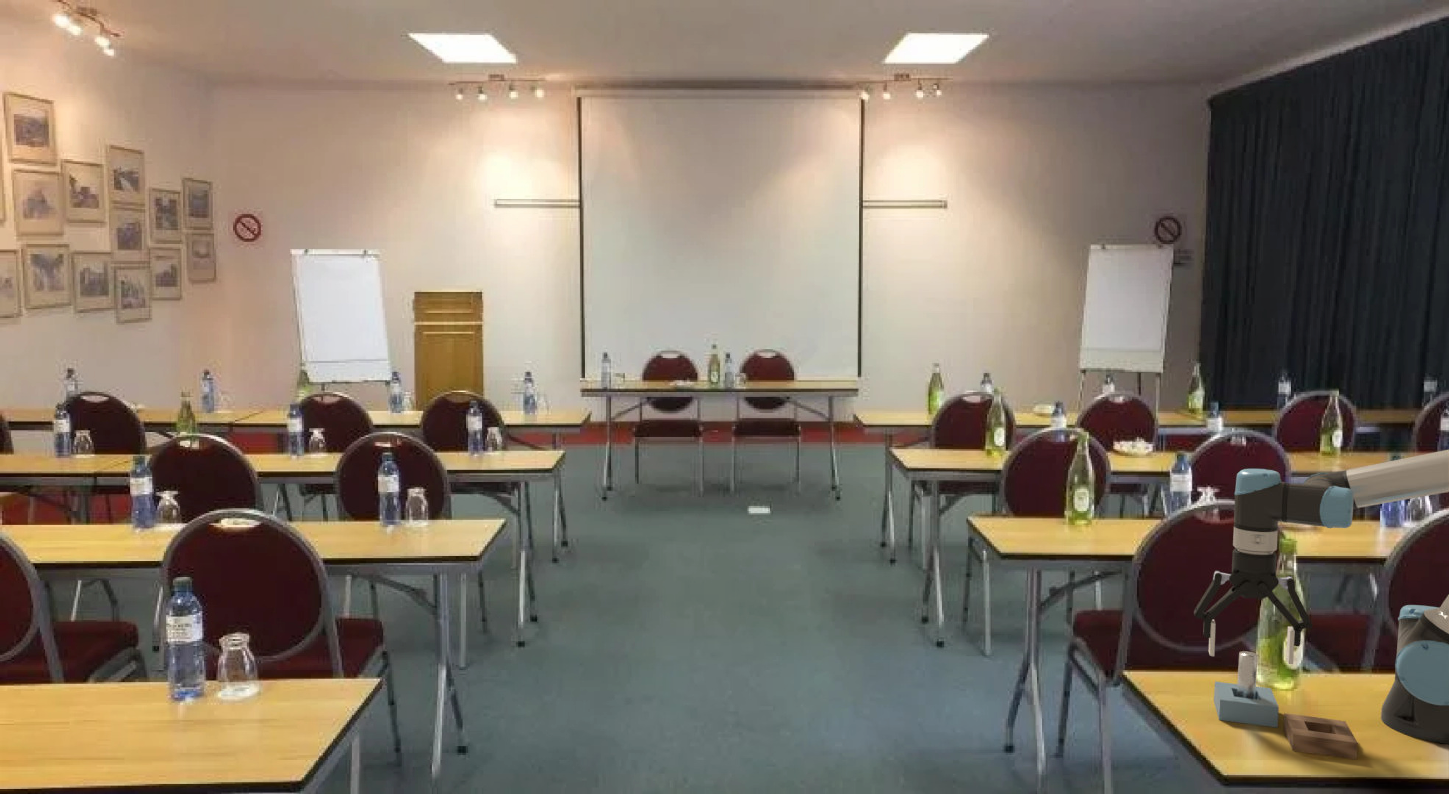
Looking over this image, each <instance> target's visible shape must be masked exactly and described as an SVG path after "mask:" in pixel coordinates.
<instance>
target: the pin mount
mask: <svg viewBox="0 0 1449 794" xmlns="http://www.w3.org/2000/svg"><path fill="white" fill-rule="evenodd" d="M1283 713H1284V714H1283V715H1284V716H1283V731H1284V734H1285V735H1286V736H1285V737H1286V739H1287V740H1288V743H1289V745H1290V747H1291V750H1292V751H1295V752H1302V753H1310V754H1314V755H1315V754H1317V755H1322V756H1323V755H1324V756H1331V757H1337V758H1345V759H1351V760H1357V758H1358V757H1357V756H1358V746H1359V745H1358V743H1359V742H1358V741H1357V739H1356V738H1355V736H1354V734H1353V733H1352V730H1351V729H1350V727H1349V725H1348V723H1347V722H1346V720H1340V719H1334V718H1333V719H1332V718H1325V717H1316V716H1311V715H1310V716H1309V715H1302V714H1293V713H1286V712H1283Z"/></svg>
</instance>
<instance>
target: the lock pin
mask: <svg viewBox="0 0 1449 794" xmlns="http://www.w3.org/2000/svg"><path fill="white" fill-rule="evenodd" d="M1238 653H1239V654H1238V667H1237V668H1238V669H1237V683H1236V684H1237V697H1242V698H1249V699H1255V693H1256V687H1257V676H1258V674H1257V673H1258V661H1259V660H1258V658H1259V655H1258V654H1257V653H1255V652H1252V651H1246V650H1245V651H1244V650H1242V651H1239V652H1238Z"/></svg>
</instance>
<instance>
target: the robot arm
mask: <svg viewBox="0 0 1449 794" xmlns="http://www.w3.org/2000/svg"><path fill="white" fill-rule="evenodd" d="M1444 493H1449V449H1445V450H1440V451H1436V452H1429V453H1424V454H1420V455H1415V456H1410V457H1406V458H1405V457H1404V458H1400V459H1394V460H1391V461H1384V462H1380V463H1375V464H1371V465H1365V466H1360V467H1356V468H1350V469H1346V470H1342V471H1341V470H1340V471H1339V470H1338V471H1337V472H1336V471H1334V472H1318V473H1316V474H1312V475H1310V476H1309V477H1307V478H1306V479H1304V481H1303V483H1290V482H1285V481H1282V479H1281V474H1280V473H1279V472H1278V471H1275V470H1273V469H1266V468H1244V469H1241V470H1240V471H1239V472H1238V473H1237V474H1236V479H1235V491H1234V509H1233V512H1234V516H1233V517H1234V518H1233V537H1232V539H1233V540H1232V546H1233V547H1234V549H1233V550H1232V558H1231V559H1232V562H1231V563H1232V564H1231V571H1230V573H1225V572H1221V571H1220V570H1214V572H1213V576H1212V581H1211V582H1210V584H1209V586H1208V588H1207V589H1206V591H1205V592H1204V594H1203V595H1202V597H1201V598H1200V601H1199V602H1198V603H1197V605H1196V606H1195V608H1194V610H1193V614H1194V617H1195V618H1197V619H1201V620H1202V621H1203V626H1202V627H1203V628H1202V629H1203V633H1202V634H1203V636H1204V638H1206V639H1207V638H1208V654H1209V656H1210V657H1215V647H1216V645H1215V643H1216V621H1215V618H1216V617H1217V616H1218V615H1220V614H1221V613H1222V612H1223V611H1224V610H1226V608H1228V606H1229V605H1230V604H1232V603H1233V602H1234V601H1235V600H1237V599H1238V598H1239V597H1240V596H1241V597H1242V598H1244V599H1252V598H1253V599H1256V600H1263V599H1266V598H1267V599H1268V600H1269V601H1270V602H1271V603H1272V604H1273V605H1274V607H1275V608H1276V609H1277V610H1278V611H1279V612H1280V614H1282V615H1283V617H1284V618H1285V619H1286V621H1288V623H1289V624H1290V625H1291V626H1287V635H1286V636H1287V637H1286V639H1287V641H1286V658H1285V659H1286V662H1287V663H1288V665H1294V656H1295V654H1294V653H1295V647H1300V646H1301V642H1302V641H1301V639H1302V638H1301V637H1302V636H1301V634H1302V631H1303V630H1305V629H1311V628H1313V623H1312V620H1311V619H1310V617H1309V615H1308V613H1307V611H1306V609H1305V607H1304V605H1303V603H1302V601H1301V600H1300V597H1299V595H1298V593H1297V591H1296V584H1295V580H1294V578H1293V577H1292V576H1290V575H1287V576H1285V577H1277V560H1278V559H1277V557H1278V555H1277V553H1276V552H1275V551H1277V550H1278V530H1279V523H1284V524H1285V523H1286V524H1288V523H1289V524H1297V525H1305V526H1306V525H1307V526H1312V527H1313V526H1314V527H1321V528H1322V527H1323V528H1327V529H1332V528H1334V529H1335V528H1337V529H1348V528H1349V527H1351V525H1352V523H1353V514H1354V510H1355V509H1359V508H1365V507H1371V506H1377V505H1381V504H1382V505H1383V504H1387V503H1393V502H1394V503H1395V502H1400V501H1403V500H1411V499H1415V498H1421V497H1427V496H1433V495H1440V494H1444ZM1227 581H1229V582H1230V584H1231V585H1232V587H1231V588H1230V589H1228V591H1227V592H1226V593H1225V594H1224V595H1223V596H1222V597H1221V598H1220V599H1219V600H1218V601H1217V602H1215V603H1214V604H1213V605H1212V606H1211V607H1210V608H1209V609H1208V607H1209V605H1210V604H1211V602H1212V601H1213V599H1214V597H1215V596H1216V594H1217V593H1218V591H1219V589H1220V588H1221V585H1224V584H1225V583H1226V582H1227ZM1278 585H1281V587H1282V588H1283V589H1284V590H1286V591H1287V593H1288V595H1289V597H1290V599H1291V601H1292V603H1293V605H1294V607H1295V608H1296V611H1297V613H1298V615H1299V616H1300V619H1301V620H1298V619H1297V618H1296V617H1295V616H1294V614H1292V613H1291V611H1290V609H1288V608H1287V607H1286V606H1285V604H1283V602H1282V601H1281V600H1280V598H1279V597H1278V596H1277V595H1276V593H1274V590H1275V589H1276V588H1277V587H1278ZM1206 610H1207V611H1206ZM1205 611H1206V612H1205ZM1397 621H1398V630H1397V631H1398V632H1397V633H1398V634H1397V646H1396V647H1397V648H1396V658H1395V661H1394V663H1395V664H1394V667H1395V673H1394V682H1393V684H1392V686H1391V687H1390V689H1389V691H1388V694H1387V696H1386V698H1385V700H1384V702H1383V703H1382V707H1381V712H1380V719H1381V721H1382V723H1384V725H1386V726H1387V727H1389V728H1390V729H1393V730H1394V731H1396V732H1399V733H1401V734H1403V735H1406V736H1409V737H1413V738H1416V739H1420V740H1423V741H1427V742H1432V743H1440V744H1449V594H1448V595H1447V596H1446V598H1445V599H1444V600H1443V602H1442V604H1441V606H1439V607H1437V606H1430V605H1429V606H1428V605H1420V604H1419V605H1418V604H1407V605H1404V606H1402V607H1401V609H1400V611H1399V616H1398V617H1397Z"/></svg>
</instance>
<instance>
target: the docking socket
mask: <svg viewBox="0 0 1449 794" xmlns="http://www.w3.org/2000/svg"><path fill="white" fill-rule="evenodd" d="M1213 693H1214V694H1213V703H1214V706H1215V709H1216V710H1215V711H1216V713H1217V714H1216V715H1217V717H1218V720H1219V721H1225V722H1231V723H1232V722H1233V723H1239V724H1246V725H1256V726H1261V727H1269V728H1278V723H1279V711H1280V710H1279V709H1280V706H1279V704H1278V702H1277V700H1276V698H1275V695H1274V692H1273V690H1272V688H1271V687H1264V686H1256V693H1255V699H1249V698H1242V697H1237V683H1231V682H1225V681H1224V682H1222V681H1214V692H1213Z"/></svg>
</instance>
